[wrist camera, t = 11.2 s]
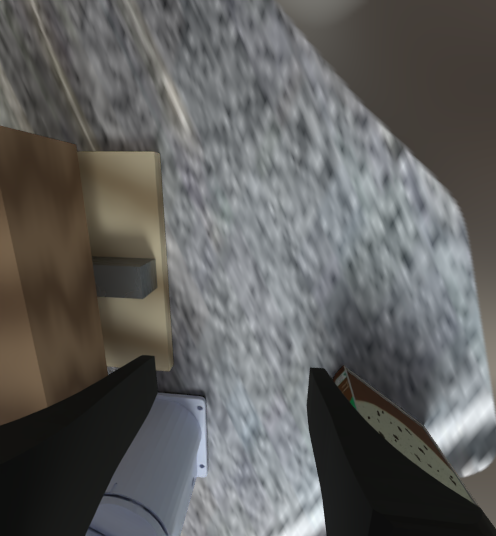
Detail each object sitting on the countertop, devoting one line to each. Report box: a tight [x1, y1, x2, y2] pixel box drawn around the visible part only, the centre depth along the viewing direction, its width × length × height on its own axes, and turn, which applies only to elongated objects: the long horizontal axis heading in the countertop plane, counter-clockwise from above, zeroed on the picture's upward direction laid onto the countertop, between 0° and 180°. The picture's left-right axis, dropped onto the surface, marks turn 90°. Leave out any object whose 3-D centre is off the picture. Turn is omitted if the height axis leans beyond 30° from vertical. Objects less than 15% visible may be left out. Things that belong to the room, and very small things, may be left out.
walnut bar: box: [0, 126, 108, 425], centre depth 17 cm, size 18×4×6 cm, turn 179°
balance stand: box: [77, 151, 174, 371], centre depth 21 cm, size 18×12×4 cm, turn 179°
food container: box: [333, 365, 479, 507], centre depth 19 cm, size 12×6×10 cm, turn 53°
